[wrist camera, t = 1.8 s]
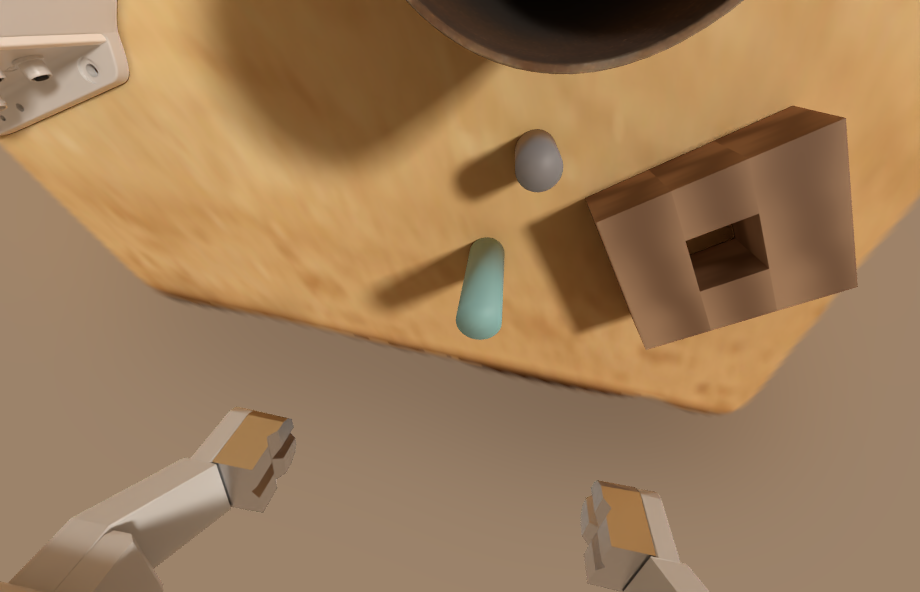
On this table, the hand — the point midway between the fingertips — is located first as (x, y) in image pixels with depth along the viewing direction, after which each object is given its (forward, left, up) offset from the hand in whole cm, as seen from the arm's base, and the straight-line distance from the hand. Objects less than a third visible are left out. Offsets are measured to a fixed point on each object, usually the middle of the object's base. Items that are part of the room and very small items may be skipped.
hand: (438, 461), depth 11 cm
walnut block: (+13, -10, -25) cm, 30 cm away
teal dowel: (-3, -5, -25) cm, 25 cm away
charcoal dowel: (+4, +1, -25) cm, 25 cm away
